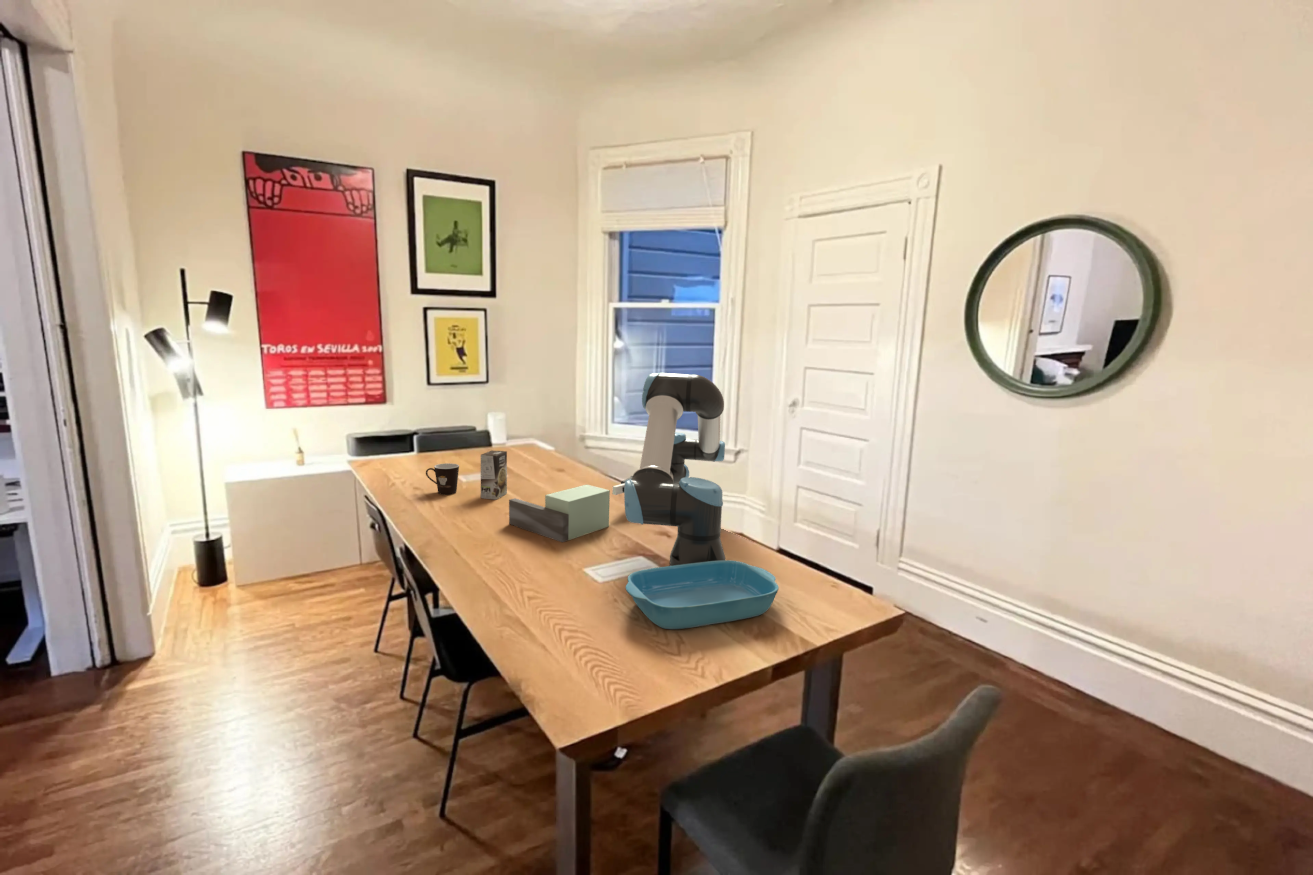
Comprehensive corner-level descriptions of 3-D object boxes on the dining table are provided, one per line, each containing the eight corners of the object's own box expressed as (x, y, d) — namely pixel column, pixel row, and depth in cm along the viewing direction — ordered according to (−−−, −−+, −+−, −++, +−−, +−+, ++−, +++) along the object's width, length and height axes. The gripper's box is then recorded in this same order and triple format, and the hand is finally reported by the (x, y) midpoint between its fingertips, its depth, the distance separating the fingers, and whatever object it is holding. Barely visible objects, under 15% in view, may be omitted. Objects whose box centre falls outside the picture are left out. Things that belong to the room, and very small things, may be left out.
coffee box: (496, 500, 226) (496, 455, 223) (480, 498, 227) (479, 454, 224) (507, 493, 235) (507, 450, 232) (491, 491, 236) (491, 449, 233)
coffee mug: (464, 492, 234) (464, 465, 232) (445, 497, 227) (445, 469, 225) (443, 486, 240) (442, 461, 238) (424, 491, 233) (423, 464, 231)
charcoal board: (515, 522, 202) (515, 498, 201) (568, 540, 188) (568, 514, 186) (509, 524, 200) (509, 499, 199) (562, 542, 186) (562, 516, 184)
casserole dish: (743, 579, 164) (745, 553, 163) (795, 617, 144) (798, 587, 143) (609, 600, 149) (610, 571, 148) (647, 645, 129) (648, 612, 128)
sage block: (586, 519, 208) (586, 484, 206) (608, 526, 202) (609, 490, 200) (545, 532, 194) (545, 495, 192) (568, 540, 188) (568, 501, 186)
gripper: (671, 492, 225) (628, 505, 206) (643, 485, 232) (599, 497, 214) (672, 471, 223) (629, 483, 205) (644, 465, 231) (599, 476, 213)
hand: (614, 490), depth 209 cm, fingers closed
